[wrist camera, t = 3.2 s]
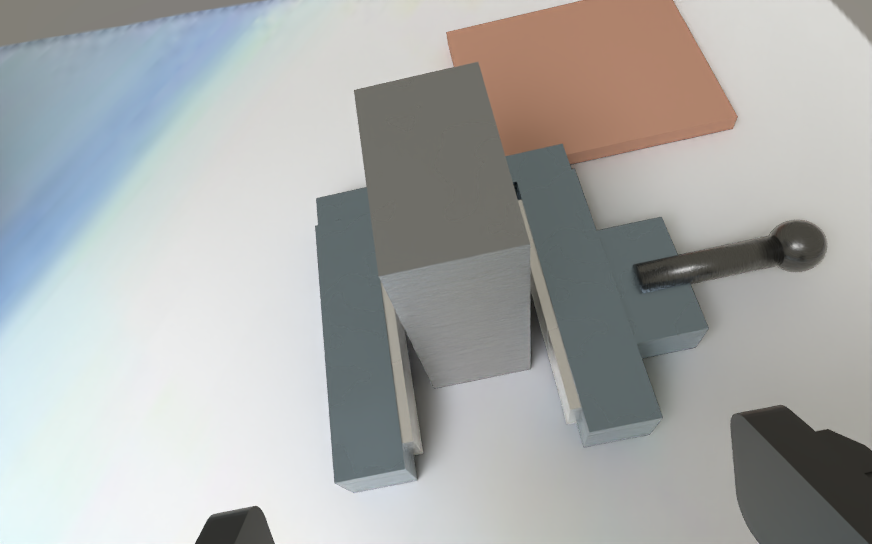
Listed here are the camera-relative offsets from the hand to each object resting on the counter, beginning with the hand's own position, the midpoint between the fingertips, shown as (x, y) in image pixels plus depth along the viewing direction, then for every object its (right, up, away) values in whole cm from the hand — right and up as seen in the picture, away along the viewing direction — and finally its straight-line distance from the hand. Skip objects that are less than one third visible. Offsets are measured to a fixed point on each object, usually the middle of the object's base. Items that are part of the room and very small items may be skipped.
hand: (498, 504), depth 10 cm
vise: (+4, +3, +15) cm, 16 cm away
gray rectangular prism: (0, +2, +16) cm, 16 cm away
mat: (+6, +14, +21) cm, 26 cm away
